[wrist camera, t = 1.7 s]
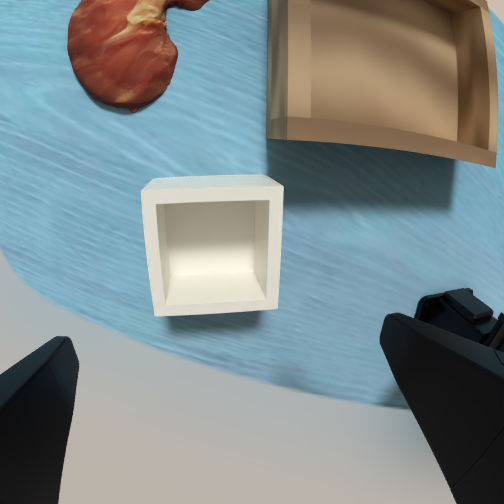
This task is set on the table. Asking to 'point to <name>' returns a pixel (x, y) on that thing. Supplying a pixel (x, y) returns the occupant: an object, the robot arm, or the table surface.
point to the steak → (124, 49)
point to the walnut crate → (384, 75)
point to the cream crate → (213, 243)
